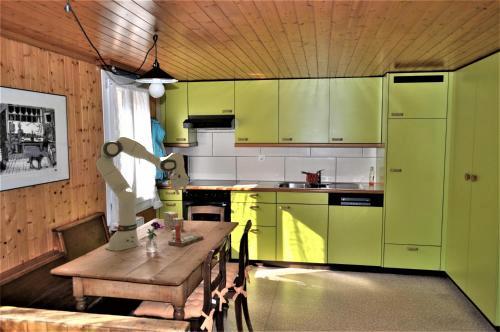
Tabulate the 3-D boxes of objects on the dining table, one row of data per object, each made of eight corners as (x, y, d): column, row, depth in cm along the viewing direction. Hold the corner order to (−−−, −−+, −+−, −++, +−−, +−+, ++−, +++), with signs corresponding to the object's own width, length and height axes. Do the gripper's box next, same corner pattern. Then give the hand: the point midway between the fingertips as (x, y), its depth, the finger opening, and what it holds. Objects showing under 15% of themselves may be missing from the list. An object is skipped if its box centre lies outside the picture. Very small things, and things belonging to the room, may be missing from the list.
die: (176, 238, 281) (176, 231, 280) (171, 237, 283) (170, 230, 283) (181, 237, 285) (181, 230, 285) (176, 236, 288) (175, 229, 287)
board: (181, 246, 260) (181, 243, 260) (168, 244, 266) (168, 241, 266) (203, 238, 279) (203, 235, 279) (190, 236, 286) (190, 233, 285)
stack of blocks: (183, 230, 306) (183, 214, 305) (176, 231, 302) (176, 215, 301) (171, 225, 322) (170, 210, 321) (164, 226, 319) (163, 211, 318)
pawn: (178, 242, 262) (177, 225, 262) (173, 241, 265) (172, 225, 264) (182, 240, 266) (182, 224, 265) (177, 239, 269) (177, 223, 268)
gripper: (182, 172, 294) (184, 190, 296) (168, 177, 275) (170, 196, 277) (189, 172, 292) (191, 190, 294) (176, 176, 273) (178, 196, 275)
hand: (181, 193), depth 285 cm, fingers open, 8 cm apart
